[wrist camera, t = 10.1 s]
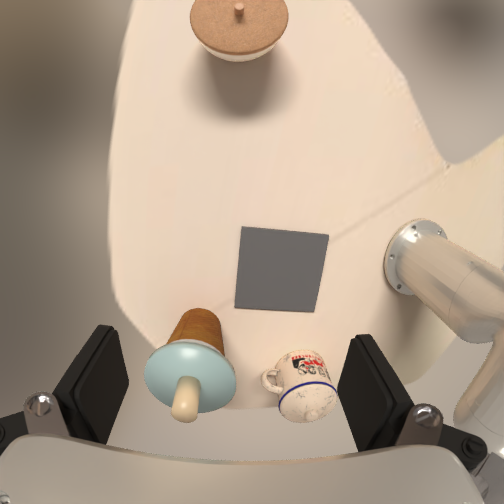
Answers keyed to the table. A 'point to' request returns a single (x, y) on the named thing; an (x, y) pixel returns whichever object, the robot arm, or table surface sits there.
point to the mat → (279, 269)
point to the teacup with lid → (302, 386)
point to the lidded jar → (238, 26)
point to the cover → (190, 379)
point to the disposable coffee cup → (199, 329)
